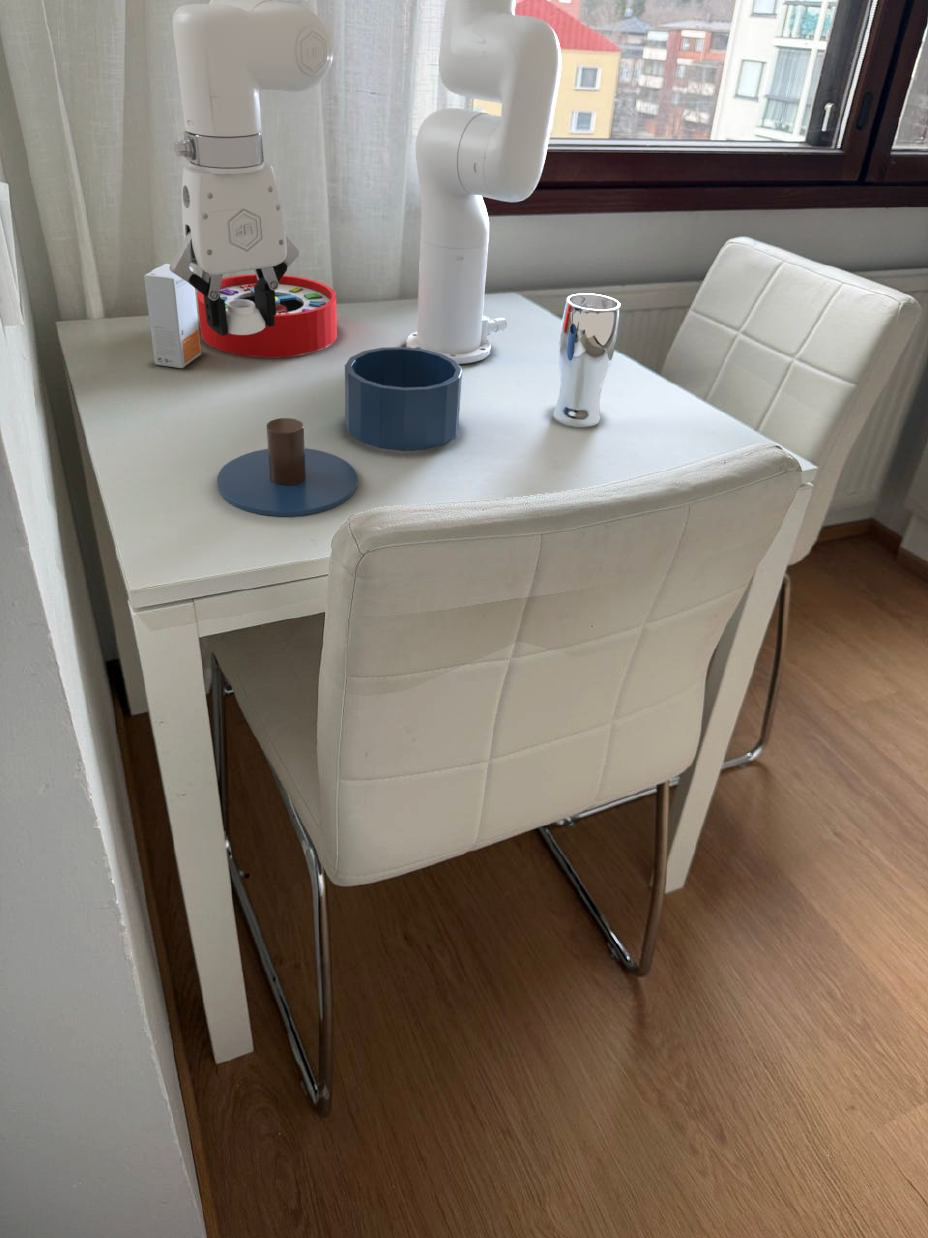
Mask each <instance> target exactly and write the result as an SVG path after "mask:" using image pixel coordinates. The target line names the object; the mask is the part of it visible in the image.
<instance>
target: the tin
mask: <svg viewBox="0 0 928 1238" xmlns="http://www.w3.org/2000/svg"><path fill="white" fill-rule="evenodd" d="M462 377H463V369H462V367H461V366H460V364H458V363H457V362H456V361H454V360H452V359H451V358H449V357H447V356H445V355H443V354H440V353H436V352H432V351H429V350H424V349H416V348H408V347H406V346H393V347H390V346H389V347H377V348H373V349H368V350H367V349H366V350H363V351H360V352H358V353H357V354H355V355H352V356H350V357H349V358H348V360H347V361H346V363H345V364H344V412H345V413H344V415H345V420H344V421H345V426H346V427H345V428H346V430H347V432H348V435H350V436H352V437H353V438H354V439H355V440H357V441H358V442H360V443H362V444H365V445H369V446H372V447H375V448H377V449H382V450H392V451H398V452H413V451H425V450H426V451H427V450H429V449H433V448H437V447H441V446H444V445H446V444H447V443H449V442H450V441H452V440H456V439H457V436H458V430H459V426H460V425H459V424H460V410H461V409H460V407H461V394H462V393H461V392H462V380H463V379H462Z"/></svg>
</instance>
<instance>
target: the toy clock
mask: <svg viewBox="0 0 928 1238" xmlns="http://www.w3.org/2000/svg"><path fill="white" fill-rule="evenodd" d="M278 283H279V286H278V288H277V289H276V290H275V303H276V315H275V316H274V321H275V325H274V326H272V327H269V326H267V325H265V328H264V329H263V330H261V331H259V332H257V333H254V334H249V335H235V334H230V333H228V334H227V335H225V336H221V335H220V334H218V333H217V332H215V331H214V330H212V329H211V327H210V326H209V325H208V323H207V320H206V312H205V304H204V295H203V294H202V293H200V292H199V291H198V290H197V293H196V300H197V310H198V320H199V330H200V337H201V339H202V340H203V342H204V343H206V344H207V345H208V346H209V347H212V348H214V349H216V350H219V351H221V352H225V353H228V354H233V355H237V356H243V357H250V358H272V359H274V358H276V359H277V358H290V357H299V356H304V355H310V354H313V353H317V352H319V351H322V350H324V349H327V348H328V347H330V346H331V345H333V344H334V343H335V342H336V340H337V338H338V320H337V319H338V316H337V314H338V313H337V293H336V291H335V290H334V289H333V288H332V287H331V286H329V285H327V284H325V283H323V282H320V281H317V280H315V279H310V278H306V277H301V276H297V275H296V276H295V275H289V274H284V275H283V277H282V278H281V280H280V281H279V282H278ZM255 284H258V279H257V276H256V274H255V273H252V274H251V273H250V274H239V275H232V276H231V275H230V276H227V277H222V282H221V288H220V298H222V299H223V300H224V301H225V307H226V308H227V303H228V302H229V301H232V300H239V299H243V300H250V301H252V302H254V304H255V294H254V287H255ZM255 308H256V305H255Z"/></svg>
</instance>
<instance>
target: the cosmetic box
mask: <svg viewBox="0 0 928 1238" xmlns="http://www.w3.org/2000/svg"><path fill="white" fill-rule="evenodd" d="M170 264H171V263H165V264H162V265H161V266H159V267H155V268H154V269H152V270H151V271H149V272H148V273H146V274H144V275H143V280H144V288H145V296H146V303H147V304H146V305H147V311H148V319H149V327H150V335H151V336H150V337H151V344H152V352H153V360H154V364H155V365H156V366H163V367H170V368H177V369H185V367H187V365H189V364H190V363H191V362H193V361H194V360H196V359H197V358H198V357H200V356H202V348H201V347H202V346H201V335H200V325H199V314H198V304H197V294H196V288H194V287H193V286H192V285H191V284H189V283H188V282H187V281H185V280H183V279H182V278H180V277H179V276H177V275H176V274H174V273H173V272H171V271H170V268H169V267H170ZM189 268H190V270H191V271H192V272H194V268H193V267H191V266H189Z"/></svg>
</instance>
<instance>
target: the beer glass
mask: <svg viewBox="0 0 928 1238" xmlns="http://www.w3.org/2000/svg"><path fill="white" fill-rule="evenodd" d="M620 309H621V303H620V302H619V301H618V300H617V299H615V298H613V297H610V296H607V295H602V294H596V293H576V294H571V295H568V296H567V297H566V299H565V306H564V310H563V315H562V320H561V326H560V332H559V342H558V361H559V362H558V363H559V393H558V397H557V400H556V403H555V406H554V409H553V416H552V417H553V418H554V420H556V421H557V422H558V423H560V424H562V425H565V426H568V427H573V428H590V427H593V426H596V425H598V424H599V423H600V420H601V396H602V395H601V394H602V390H603V387H604V383H605V380H606V377H607V375H608V372H609V368H610V366H611V362H612V359H613V357H614V353H615V349H616V344H617V339H618V332H619V323H620V322H619V321H620Z"/></svg>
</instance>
